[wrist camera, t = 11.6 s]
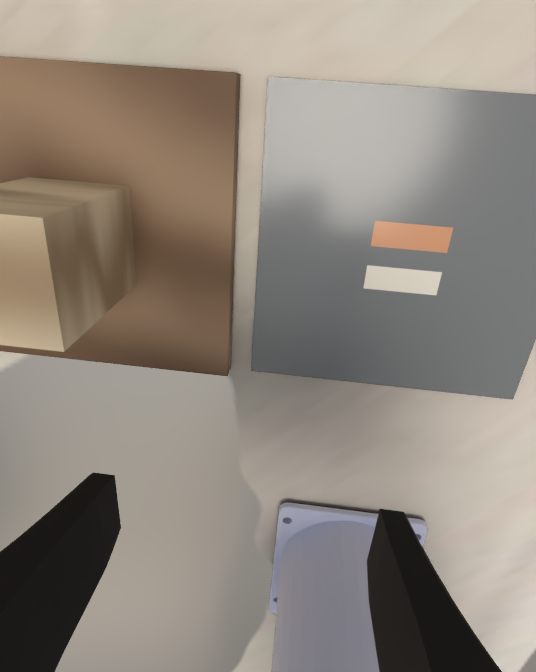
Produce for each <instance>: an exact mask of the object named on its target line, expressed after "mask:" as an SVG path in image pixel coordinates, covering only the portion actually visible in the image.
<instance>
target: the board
mask: <svg viewBox="0 0 536 672" xmlns="http://www.w3.org/2000/svg"><path fill="white" fill-rule="evenodd" d="M239 95H240V74H238V73H234V72H220V71H205V70H191V69H176V68H161V67H147V66H132V65H118V64H103V63H89V62H74V61H59V60H45V59H30V58H16V57H1V56H0V183H5V182H9V181H14V180H19V179H24V178H28V177H31V178H43V179H55V180H66V181H78V182H90V183H102V184H113V185H125V186H130V196H131V210H132V224H133V238H134V252H135V266H136V280H137V285H136V286H135V287H134V288H133V289H132V290H131V291H129V292H128V293H127V294H126V295H125V296H124V297H123V298H122V299H121V300H120V301H119V302H118V303H117V304H115V305H114V306H113V307H112V308H111V309H110V310H109V311H108V312H107V313H106V314H105V315H104V316H102V317H101V318H100V319H99V320H98V321H97V322H96V323H95V324H94V325H93V326H92V327H91V328H90V329H88V330H87V331H86V332H85V333H84V334H83V335H82V336H81V337H80V338H79V339H78V340H77V341H75V342H74V343H73V344H72V345H71V346H70V347H69V348H68V349H67V350H66V351H65V352H60V351H51V350H42V349H33V348H24V347H14V346H5V345H0V351H5V352H14V353H23V354H32V355H41V356H50V357H59V358H69V359H78V360H86V361H96V362H105V363H113V364H123V365H132V366H142V367H150V368H159V369H168V370H177V371H186V372H195V373H204V374H213V375H222V376H228V373H229V371H230V368H231V341H232V310H233V280H234V249H235V218H236V187H237V157H238V126H239Z"/></svg>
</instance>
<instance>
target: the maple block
mask: <svg viewBox="0 0 536 672" xmlns="http://www.w3.org/2000/svg"><path fill="white" fill-rule="evenodd" d="M136 285H137V280H136V266H135V252H134V238H133V224H132V210H131V196H130V186H125V185H113V184H102V183H90V182H78V181H66V180H55V179H43V178H31V177H28V178H24V179H19V180H14V181H9V182H5V183H0V345H5V346H14V347H24V348H33V349H42V350H51V351H60V352H65V351H66V350H67V349H68V348H69V347H70V346H71V345H72V344H73V343H74V342H75V341H77V340H78V339H79V338H80V337H81V336H82V335H83V334H84V333H85V332H86V331H87V330H88V329H90V328H91V327H92V326H93V325H94V324H95V323H96V322H97V321H98V320H99V319H100V318H101V317H102V316H104V315H105V314H106V313H107V312H108V311H109V310H110V309H111V308H112V307H113V306H114V305H115V304H117V303H118V302H119V301H120V300H121V299H122V298H123V297H124V296H125V295H126V294H127V293H128V292H129V291H131V290H132V289H133V288H134V287H135V286H136Z"/></svg>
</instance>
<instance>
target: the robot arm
mask: <svg viewBox="0 0 536 672" xmlns="http://www.w3.org/2000/svg"><path fill="white" fill-rule="evenodd" d="M285 517H288V518H285ZM120 529H121V525H120V517H119V509H118V501H117V493H116V484H115V476H114V475H107V474H99V473H92V474H91V475H89V476H88V477H87V478H86V479H85V480H84V481H83V482H81V483H80V484H79V485H78V486H77V487H76V488H75V489H74V490H73V491H71V492H70V493H69V494H68V495H67V496H66V497H65V498H64V499H63V500H61V501H60V502H59V503H58V504H57V505H56V506H55V507H54V508H52V509H51V510H50V511H49V512H48V513H47V514H46V515H44V516H43V517H42V518H41V519H40V520H39V521H37V522H36V523H35V524H34V525H33V526H31V527H30V528H29V529H28V530H27V531H26V532H24V533H23V534H22V535H21V536H20V537H18V538H17V539H16V540H15V541H14V542H12V543H11V544H10V545H8V546H7V547H6V548H5V549H3V550H2V551H1V552H0V672H55V669H56V667H57V665H58V663H59V661H60V659H61V657H62V654H63V652H64V650H65V648H66V646H67V644H68V642H69V640H70V638H71V636H72V634H73V632H74V630H75V628H76V626H77V624H78V622H79V620H80V619H81V616H82V615H83V613H84V611H85V609H86V607H87V605H88V603H89V601H90V599H91V597H92V595H93V593H94V591H95V589H96V587H97V585H98V583H99V580H100V579H101V577H102V575H103V573H104V570H105V568H106V566H107V564H108V561H109V559H110V556H111V553H112V551H113V548H114V545H115V542H116V540H117V537H118V534H119V531H120ZM427 532H428V528H427V524H426V522H425V521H423V520H420V519H415V518H407V516H406V515H405V513H404V512H400V511H392V510H384V509H380V510H379V514H375V513H367V512H360V511H352V510H344V509H336V508H328V507H320V506H313V505H305V504H297V503H283V504H281V505H280V507H279V515H278V524H277V534H276V543H275V552H274V561H273V571H272V580H271V590H270V598H269V611H270V612H271V613H273V614H276V623H275V635H274V647H273V659H272V671H271V672H502V671H501V670H500V669H499V667H498V666H497V665H496V663H495V662H494V661H493V659H492V658H491V656H490V655H489V654H488V652H487V651H486V649H485V648H484V646H483V645H482V644H481V642H480V641H479V639H478V638H477V636H476V635H475V633H474V632H473V630H472V629H471V627H470V626H469V624H468V623H467V621H466V620H465V618H464V617H463V615H462V614H461V612H460V610H459V609H458V607H457V606H456V604H455V603H454V601H453V599H452V598H451V596H450V594H449V593H448V591H447V589H446V588H445V586H444V584H443V583H442V581H441V579H440V578H439V576H438V574H437V572H436V571H435V569H434V567H433V565H432V564H431V562H430V560H429V558H428V556H427V555H426V553H425V551H424V549H423V544H424V541H425V538H426V535H427ZM416 534H417V535H416Z"/></svg>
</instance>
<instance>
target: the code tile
mask: <svg viewBox="0 0 536 672" xmlns="http://www.w3.org/2000/svg"><path fill="white" fill-rule="evenodd" d="M535 340H536V95H531V94H517V93H502V92H488V91H473V90H458V89H444V88H429V87H415V86H400V85H386V84H371V83H357V82H342V81H328V80H313V79H299V78H284V77H270V76H268V86H267V104H266V121H265V139H264V156H263V174H262V191H261V209H260V226H259V244H258V261H257V279H256V296H255V314H254V331H253V349H252V366H251V371H258V372H268V373H277V374H286V375H295V376H304V377H313V378H322V379H331V380H340V381H350V382H359V383H368V384H377V385H386V386H395V387H404V388H413V389H423V390H432V391H441V392H450V393H459V394H468V395H477V396H486V397H495V398H505V399H513V398H514V395H515V392H516V390H517V387H518V384H519V382H520V379H521V377H522V374H523V371H524V369H525V366H526V363H527V361H528V358H529V356H530V353H531V350H532V348H533V345H534V342H535Z"/></svg>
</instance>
